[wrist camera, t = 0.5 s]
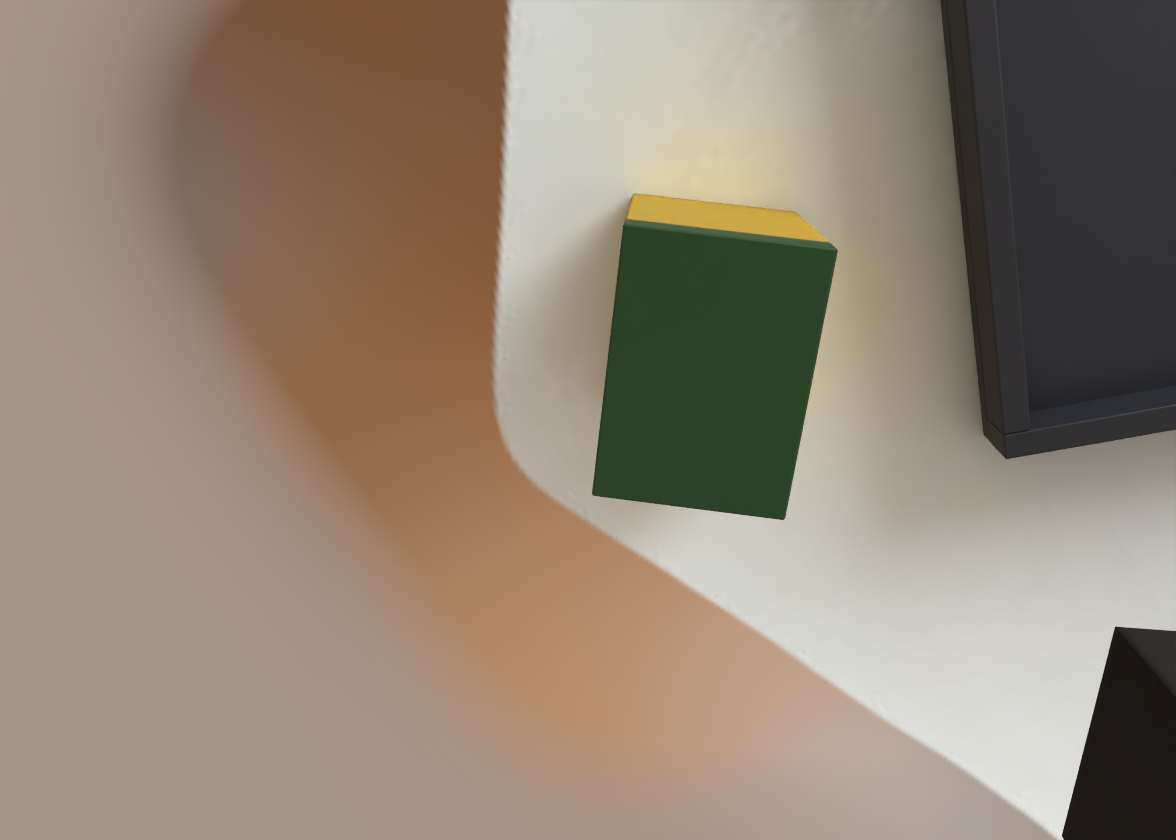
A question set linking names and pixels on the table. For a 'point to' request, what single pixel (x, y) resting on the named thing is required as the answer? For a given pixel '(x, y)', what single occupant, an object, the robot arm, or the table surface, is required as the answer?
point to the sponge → (711, 355)
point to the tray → (1068, 214)
